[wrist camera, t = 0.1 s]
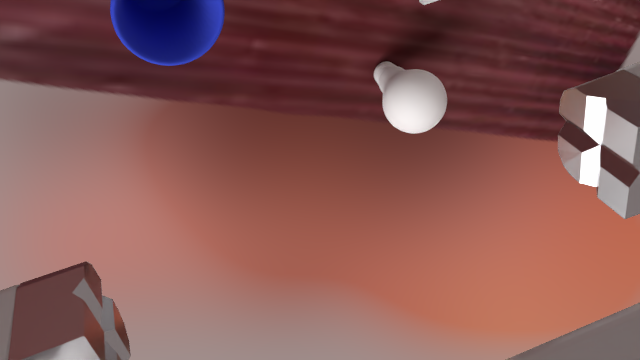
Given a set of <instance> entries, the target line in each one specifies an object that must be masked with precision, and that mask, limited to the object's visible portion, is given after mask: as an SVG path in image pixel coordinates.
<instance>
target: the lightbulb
mask: <svg viewBox="0 0 640 360" xmlns="http://www.w3.org/2000/svg"><path fill="white" fill-rule="evenodd" d="M374 79H375V80H376V82H377V83H378V84H379V87H380V90H381V91H382V92H383V110H384V113H385V115H386V117H387V119H388V121H389V122H390V123H391V124H392V125H393V126H394V127H396V128H397V129H399V130H401V131H404V132H407V133H421V132H425V131H427V130H429V129H431V128H433V127H434V126H435V125H436V124H437V123H438V122H439V121H440V120H441V118H442V117H443V115H444V113H445V110H446V105H447V95H446V91H445V89H444V86H443V84H442V83H441V81H440V80H439V79H438V78H437V77H436V76H434V75H433V74H432V73H430V72H427V71H425V70H420V69H411V70H404V69H403V68H401V67H398V66H396V65H394V64H393V63H391V62H388V61H386V62H382V63H380V64H379V65H378V66H377V67H376V69H375V71H374Z"/></svg>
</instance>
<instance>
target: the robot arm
mask: <svg viewBox="0 0 640 360" xmlns="http://www.w3.org/2000/svg"><path fill="white" fill-rule="evenodd" d="M559 113H560V114H561V115H562V116H563V117H564V119H565V120H566V123H565V124H564V126H563V128H562V129H561V131H560V133H559V134H558V152H559V155H560V157H561V160H562V163H563V166H564V167H565V168H566V170H567V171H568V173H569V174H570V175H571V176H572V177H573V178H575V179H576V180H577V181H578V182H579V183H582V184H586V185H591V186H594V187H596V188H597V197H598V198H599V199H600V200H602V201H603V202H604V203H605V204H607V205H608V206H609V207H610V208H611V209H613V210H614V211H615V212H616V213H618V214H619V215H620V216H621V217H623V218H624V219H627V218H629V217H632V216H635V215H638V214H640V62H638V63H635V64H632V65H630V66H627V67H625V68H622V69H620V70H617V71H616V72H615V73H612V74H609V75H606V76H604V77H601V78H598V79H595V80H593V81H590V82H587V83H584V84H582V85H579V86H576V87H573V88H571V89H568V90H565V91H564V93H563V95H562V97H561V99H560V111H559ZM130 356H131V354H130V346H129V339H128V336H127V333H126V328H125V325H124V322H123V320H122V317H121V315H120V312H119V310H118V308H117V307H116V305H115V303H114V301H113V299H110V298H107V297H105V296H102V288H101V279H100V277H99V276H98V274H97V272H96V271H95V269H94V268H93V266H92V265H91V264H90V263H88V262H83V263H80V264H77V265H74V266H71V267H68V268H65V269H62V270H59V271H56V272H53V273H50V274H47V275H44V276H41V277H38V278H35V279H32V280H29V281H26V282H23V283H21V284H20V285H15V286H12V287H9V288H7V289H3V290H1V291H0V360H129V358H130ZM507 360H640V303H638V304H635V305H633V306H631V307H628V308H626V309H624V310H621V311H619V312H617V313H614V314H612V315H610V316H607V317H605V318H603V319H600V320H598V321H595V322H593V323H591V324H588V325H586V326H584V327H581V328H579V329H577V330H575V331H572V332H570V333H568V334H565V335H563V336H560V337H558V338H556V339H553V340H551V341H549V342H546V343H544V344H541V345H539V346H537V347H534V348H532V349H530V350H527V351H525V352H523V353H520V354H518V355H516V356H513V357H511V358H509V359H507Z"/></svg>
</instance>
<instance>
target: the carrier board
mask: <svg viewBox="0 0 640 360" xmlns="http://www.w3.org/2000/svg"><path fill="white" fill-rule="evenodd" d="M435 1H438V0H419V2H420V3H422V4H423V5H426V4H429V3H432V2H435Z"/></svg>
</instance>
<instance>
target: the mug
mask: <svg viewBox="0 0 640 360" xmlns="http://www.w3.org/2000/svg"><path fill="white" fill-rule="evenodd" d="M110 11H111V19H112V23H113V26H114V29H115V31H116V33H117V35H118V37H119V39H120V40H121V42H122V43H123V44H124V45H125V46H126V47H127V48H128V49H129V50H130V51H131V52H132V53H133V54H135V55H136V56H138V57H139V58H141V59H143V60H145V61H148V62H150V63H154V64H158V65H167V66H171V65H180V64H185V63H188V62H191V61H193V60H195V59H197V58H199V57H200V56H202V55H203V54H204V53H206V52H207V51H208V50H209V49H210V48H211V47H212V46H213V44H214V43H215V41H216V40H217V38H218V36H219V34H220V32H221V29H222V26H223V22H224V2H223V0H111V5H110Z"/></svg>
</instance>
